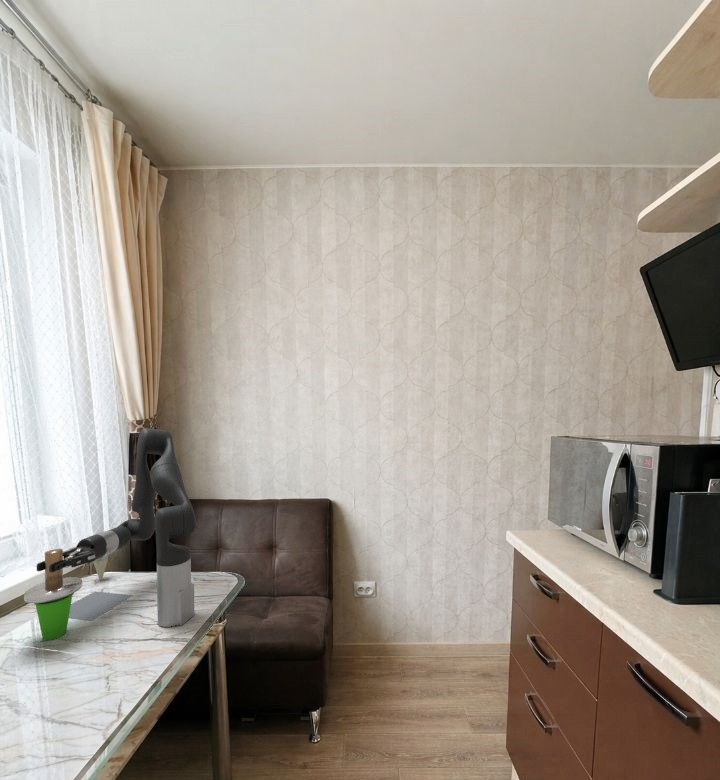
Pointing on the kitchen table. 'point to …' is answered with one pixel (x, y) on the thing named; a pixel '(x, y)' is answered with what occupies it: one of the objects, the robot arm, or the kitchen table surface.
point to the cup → (54, 617)
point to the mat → (95, 605)
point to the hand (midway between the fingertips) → (44, 568)
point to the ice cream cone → (101, 566)
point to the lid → (53, 582)
